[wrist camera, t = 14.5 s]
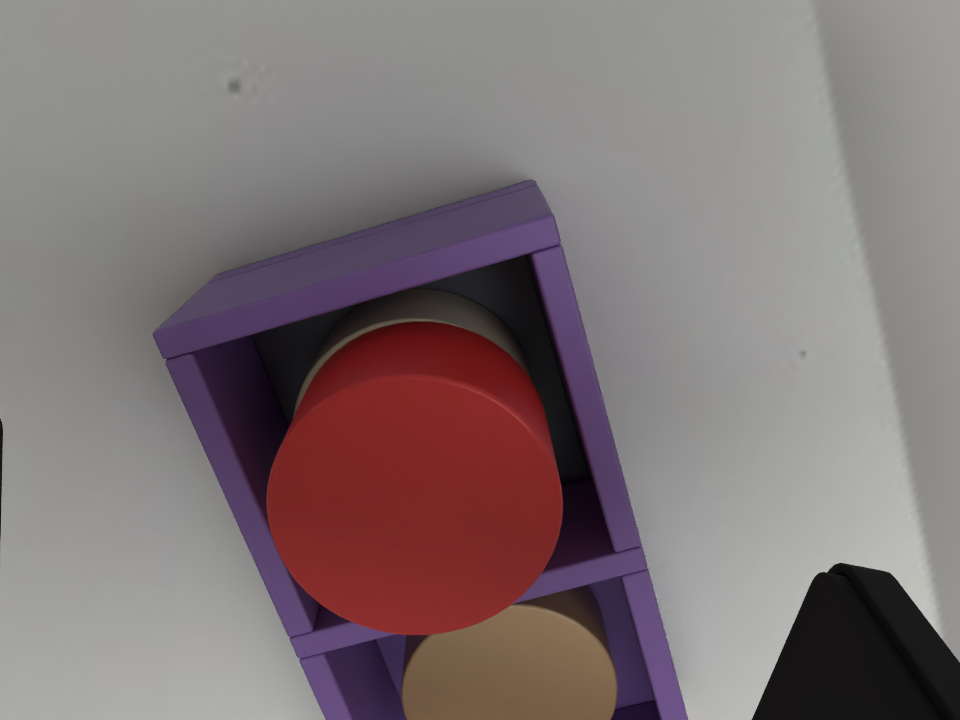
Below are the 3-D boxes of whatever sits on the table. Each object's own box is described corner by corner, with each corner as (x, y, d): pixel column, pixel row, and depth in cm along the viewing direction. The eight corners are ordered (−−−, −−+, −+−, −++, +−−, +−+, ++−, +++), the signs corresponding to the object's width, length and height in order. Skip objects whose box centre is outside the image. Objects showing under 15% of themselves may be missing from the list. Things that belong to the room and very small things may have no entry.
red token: (318, 296, 14) (287, 347, 12) (574, 347, 15) (596, 408, 12) (281, 524, 16) (247, 611, 13) (516, 565, 16) (525, 658, 14)
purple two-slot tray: (215, 273, 17) (149, 333, 14) (534, 178, 17) (553, 214, 13) (412, 750, 21) (401, 891, 18) (671, 686, 21) (715, 819, 17)
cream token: (329, 266, 16) (311, 294, 14) (557, 313, 16) (568, 347, 15) (296, 471, 18) (275, 522, 16) (505, 511, 18) (509, 565, 16)
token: (427, 531, 18) (424, 587, 16) (626, 568, 19) (644, 626, 17) (390, 695, 20) (383, 762, 18) (574, 725, 20) (586, 795, 18)
